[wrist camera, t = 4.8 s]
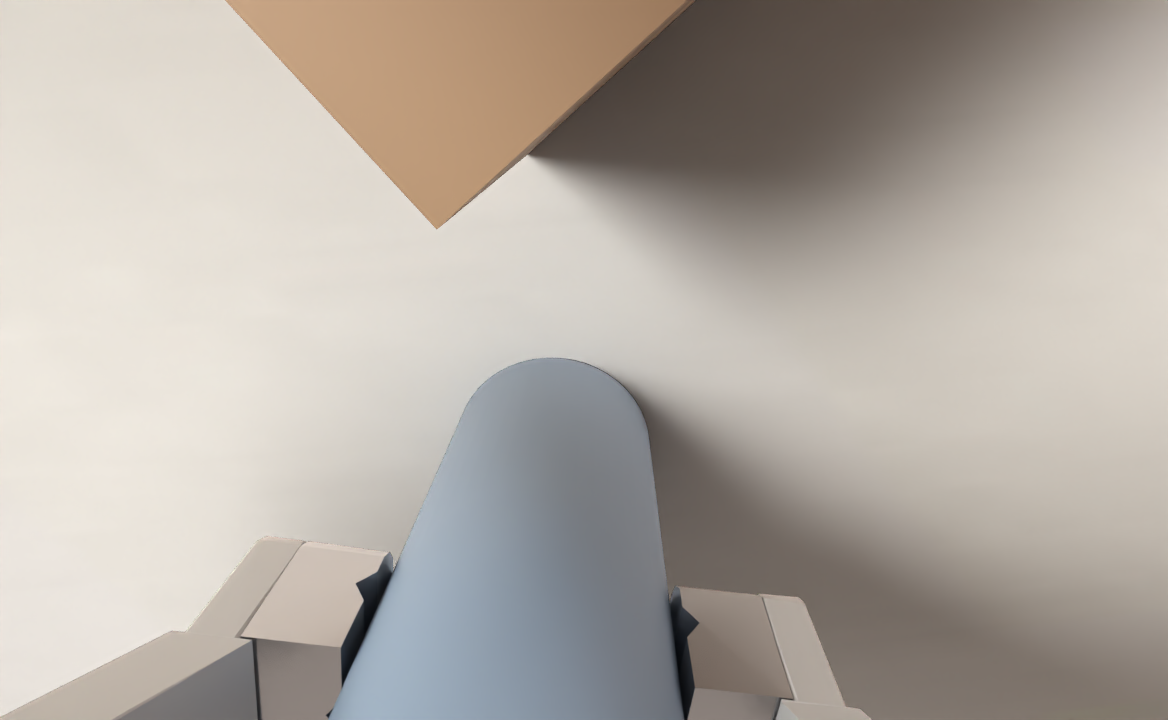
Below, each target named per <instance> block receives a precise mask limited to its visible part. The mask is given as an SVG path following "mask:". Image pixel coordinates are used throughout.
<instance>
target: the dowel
mask: <svg viewBox="0 0 1168 720" xmlns="http://www.w3.org/2000/svg"><path fill="white" fill-rule="evenodd" d="M328 720H684V713H683V705H682V697H681V689H680V681H679V673H678V666H677V658H676V650H675V642H674V634H673V626H672V618H671V610H670V602H669V594H668V586H667V578H666V570H665V562H664V554H663V546H662V538H661V530H660V522H659V514H658V506H657V498H656V490H655V482H654V474H653V466H652V458H651V450H650V442H649V434H648V429H647V425H646V421H645V419H644V417H643V414H642V412H641V410H640V408H639V406H638V405H637V403H636V401H635V400H634V398H633V397H632V396H631V395H630V393H629V392H628V391H627V390H626V389H625V388H624V387H623V386H622V385H621V384H620V383H619V382H618V381H616V380H615V379H614V378H612V377H611V376H610V375H608V374H606V373H605V372H603V371H601V370H599V369H597V368H595V367H593V366H590V365H588V364H585V363H581V362H578V361H574V360H568V359H562V358H541V359H532V360H528V361H524V362H520V363H517V364H514V365H512V366H509V367H507V368H505V369H503V370H501V371H499V372H498V373H496V374H495V375H493V376H492V377H491V378H489V379H488V380H487V381H486V382H485V383H483V384H482V385H481V386H480V387H479V388H478V390H477V391H476V392H475V393H474V395H473V396H472V397H471V399H470V401H469V402H468V404H467V406H466V408H465V410H464V412H463V414H462V417H461V419H460V421H459V423H458V426H457V428H456V430H455V433H454V435H453V437H452V439H451V442H450V444H449V446H448V448H447V451H446V453H445V455H444V458H443V460H442V462H441V464H440V467H439V469H438V471H437V473H436V476H435V478H434V480H433V482H432V485H431V487H430V489H429V492H428V494H427V496H426V498H425V501H424V503H423V505H422V507H421V510H420V512H419V514H418V517H417V519H416V521H415V523H414V526H413V528H412V530H411V532H410V535H409V537H408V539H407V542H406V544H405V546H404V548H403V551H402V553H401V555H400V557H399V560H398V562H397V564H396V566H395V569H394V571H393V573H392V576H391V578H390V580H389V582H388V585H387V587H386V589H385V591H384V594H383V596H382V598H381V601H380V603H379V605H378V607H377V610H376V612H375V614H374V616H373V619H372V621H371V623H370V626H369V628H368V630H367V632H366V635H365V637H364V639H363V641H362V644H361V646H360V648H359V650H358V653H357V655H356V657H355V660H354V662H353V664H352V666H351V669H350V671H349V673H348V675H347V678H346V680H345V682H344V685H343V687H342V689H341V691H340V694H339V696H338V698H337V700H336V703H335V705H334V707H333V710H332V712H331V714H330V716H329V719H328Z"/></svg>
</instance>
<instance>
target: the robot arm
mask: <svg viewBox="0 0 1168 720" xmlns="http://www.w3.org/2000/svg"><path fill="white" fill-rule="evenodd" d="M392 573H393V557H392V555H391V554H390V552H385V551H378V550H371V549H363V548H356V547H349V546H342V545H334V544H327V543H320V542H313V541H308V542H306V541H302V540H295V539H287V538H279V537H271V536H266V537H264V538H262V539H259V540H258V541H256V542H255V543H254V545H253V546H252V547H251V548H250V550H249V551H248V552H247V554H246V555H245V556H244V557H243V559H242V560H241V561H240V563H239V564H238V565H237V566H236V568H235V569H234V570H233V572H232V573H231V574H230V575H229V577H228V578H227V579H226V580H225V582H224V583H223V584H222V586H221V587H220V588H219V589H218V591H217V592H216V593H215V595H214V596H213V597H212V598H211V600H210V601H209V602H208V604H207V605H206V606H205V607H204V609H203V610H202V611H201V613H200V614H199V615H198V616H197V618H196V619H195V620H194V621H193V623H192V624H191V625H190V627H189V628H188V629H187V630H186V632H179V631H170V632H168V633H166V634H164V635H162V636H160V637H158V638H156V639H154V640H152V641H150V642H148V643H146V644H144V645H142V646H140V647H138V648H136V649H134V650H132V651H130V652H128V653H126V654H124V655H122V656H120V657H118V658H116V659H114V660H112V661H111V662H109V663H107V664H105V665H103V666H101V667H99V668H97V669H95V670H93V671H91V672H89V673H87V674H85V675H83V676H81V677H79V678H77V679H75V680H73V681H71V682H69V683H67V684H65V685H63V686H61V687H59V688H57V689H55V690H53V691H51V692H49V693H47V694H45V695H43V696H41V697H39V698H37V699H35V700H33V701H31V702H29V703H27V704H25V705H23V706H21V707H19V708H17V709H15V710H13V711H11V712H9V713H7V714H5V715H3V716H1V717H0V720H328V719H329V716H330V714H331V712H332V710H333V707H334V705H335V703H336V700H337V698H338V696H339V694H340V691H341V689H342V687H343V685H344V682H345V680H346V678H347V675H348V673H349V671H350V669H351V666H352V664H353V662H354V660H355V657H356V655H357V653H358V650H359V648H360V646H361V644H362V641H363V639H364V637H365V635H366V632H367V630H368V628H369V626H370V623H371V621H372V619H373V616H374V614H375V612H376V610H377V607H378V605H379V603H380V601H381V598H382V596H383V594H384V591H385V589H386V587H387V585H388V582H389V580H390V578H391V576H392ZM670 610H671V618H672V626H673V634H674V642H675V650H676V658H677V666H678V673H679V681H680V689H681V697H682V705H683V713H684V720H872V719H871V718H870V717H869V716H867V715H866V714H865V713H864V712H863V711H862V710H861V709H859V708H852V707H846V705H845V702H844V700H843V697H842V695H841V692H840V690H839V687H838V685H837V682H836V680H835V677H834V675H833V672H832V670H831V667H830V665H829V662H828V660H827V657H826V655H825V652H824V650H823V647H822V645H821V642H820V640H819V637H818V635H817V632H816V630H815V627H814V625H813V622H812V620H811V617H810V615H809V612H808V610H807V607H806V605H805V603H804V602H803V601H802V600H801V599H800V598H799V597H792V596H781V595H770V594H759V593H758V594H757V595H755V594H747V593H738V592H728V591H719V590H710V589H701V588H692V587H683V586H675V588H674V590H673V593H672V596H671V600H670Z"/></svg>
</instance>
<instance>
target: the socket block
mask: <svg viewBox="0 0 1168 720" xmlns="http://www.w3.org/2000/svg"><path fill="white" fill-rule="evenodd" d="M225 1H226V2H227V3H228V4H229V5H230V6H231V7H232V8H233V9H234V10H235V11H236V13H237V14H238V15H239V16H240V17H241V18H242V19H243V20H244V21H245V22H246V23H247V24H248V26H249V27H250V28H251V29H252V30H253V31H254V32H255V33H256V34H257V35H258V36H259V37H260V39H261V40H262V41H263V42H264V43H265V44H266V45H267V46H268V47H269V48H270V49H271V50H272V52H273V53H274V54H275V55H276V56H277V57H278V58H279V59H280V60H281V61H282V62H283V63H284V65H285V66H286V67H287V68H288V69H289V70H290V71H291V72H292V73H293V74H294V75H295V76H296V78H297V79H298V80H299V81H300V82H301V83H302V84H303V85H304V86H305V87H306V88H307V89H308V90H309V92H310V93H311V94H312V95H313V96H314V97H315V98H316V99H317V100H318V101H319V102H320V103H321V105H322V106H323V107H324V108H325V109H326V110H327V111H328V112H329V113H330V114H331V115H332V116H333V118H334V119H335V120H336V121H337V122H338V123H339V124H340V125H341V126H342V127H343V128H344V129H345V131H346V132H347V133H348V134H349V135H350V136H351V137H352V138H353V139H354V140H355V141H356V142H357V144H358V145H359V146H360V147H361V148H362V149H363V150H364V151H365V152H366V153H367V154H368V155H369V157H370V158H371V159H372V160H373V161H374V162H375V163H376V164H377V165H378V166H379V167H380V168H381V170H382V171H383V172H384V173H385V174H386V175H387V176H388V177H389V178H390V179H391V180H392V181H393V183H394V184H395V185H396V186H397V187H398V188H399V189H400V190H401V191H402V192H403V193H404V194H405V196H406V197H407V198H408V199H409V200H410V201H411V202H412V203H413V204H414V205H415V206H416V207H417V209H418V210H419V211H420V212H421V213H422V214H423V215H424V216H425V217H426V218H427V219H428V220H429V222H430V223H431V224H432V225H433V226H434V227H435V228H436V229H438V228H439V227H440V226H442V225H443V224H444V223H445V222H447V221H448V220H449V219H450V218H451V217H453V216H454V215H455V214H456V213H457V212H459V211H460V210H461V209H462V208H463V207H465V206H466V205H467V204H468V203H469V202H471V201H472V200H473V199H474V198H475V197H477V196H478V195H479V194H480V193H482V192H483V191H484V190H485V189H486V188H488V187H489V186H490V185H491V184H492V183H494V182H495V181H496V180H497V179H498V178H500V177H501V176H502V175H503V174H504V173H506V172H507V171H508V170H509V169H510V168H512V167H513V166H514V165H515V164H517V163H518V162H519V161H520V160H521V159H523V158H524V157H525V156H526V155H527V154H528V153H529V152H531V151H532V150H533V149H534V148H535V147H536V146H537V145H538V144H539V143H540V142H542V141H543V140H544V139H545V138H546V137H547V136H548V135H549V134H550V133H551V132H552V131H554V130H555V129H556V128H557V127H558V126H559V125H560V124H561V123H562V122H563V121H565V120H566V119H567V118H568V117H569V116H570V115H571V114H572V113H573V112H574V111H576V110H577V109H578V108H579V107H580V106H581V105H582V104H583V103H584V102H585V101H586V100H588V99H589V98H590V97H591V96H592V95H593V94H594V93H595V92H596V91H597V90H599V89H600V88H601V87H602V86H603V85H604V84H605V83H606V82H607V81H608V80H609V79H611V78H612V77H613V76H614V75H615V74H616V73H617V72H618V71H619V70H620V69H622V68H623V67H624V66H625V65H626V64H627V63H628V62H629V61H630V60H631V59H633V58H634V57H635V56H636V55H637V54H638V53H639V52H640V51H641V50H642V49H643V48H645V47H646V46H647V45H648V44H649V43H650V42H651V41H652V40H653V39H654V38H656V37H657V36H658V35H659V34H660V33H661V32H662V31H663V30H664V29H665V28H666V27H668V26H669V25H670V24H671V23H672V22H673V21H674V20H675V19H676V18H677V17H679V16H680V15H681V14H682V13H683V12H684V11H685V10H686V9H687V8H688V7H689V6H691V5H692V4H693V3H694V2H695V1H696V0H225Z"/></svg>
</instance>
